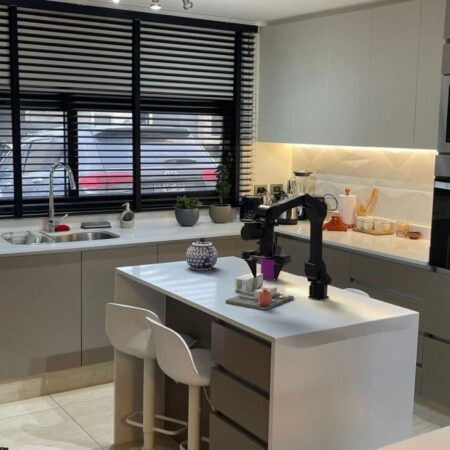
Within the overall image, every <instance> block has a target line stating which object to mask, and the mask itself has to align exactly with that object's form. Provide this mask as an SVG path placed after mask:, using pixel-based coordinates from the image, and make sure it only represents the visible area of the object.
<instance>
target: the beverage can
mask: <svg viewBox="0 0 450 450" xmlns="http://www.w3.org/2000/svg"><path fill="white" fill-rule="evenodd" d="M276 255H278V254H276ZM276 255H275V256H276ZM263 257H264V256H263ZM274 264H276V263H275V261H274V260H268V259H261V258H260V274H263V280H266V281H267V280H268V281H273V280H274ZM274 281H275V280H274Z"/></svg>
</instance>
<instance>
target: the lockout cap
mask: <svg viewBox="0 0 450 450" xmlns="http://www.w3.org/2000/svg"><path fill="white" fill-rule="evenodd" d="M270 298H271V292H270V291H267V289H263V290H261V291H259V305H261V306H269V305H270Z"/></svg>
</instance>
